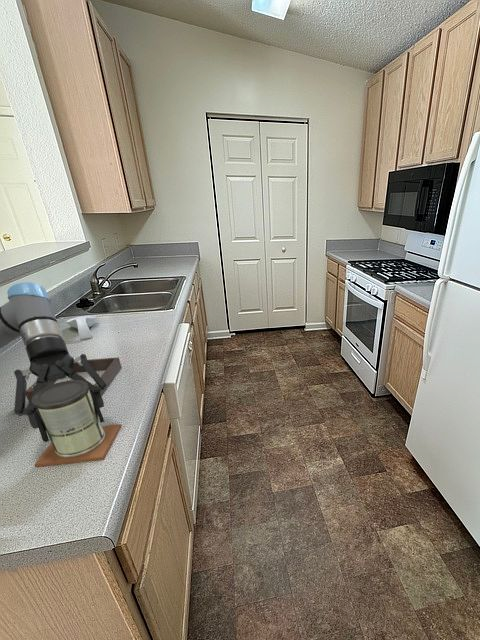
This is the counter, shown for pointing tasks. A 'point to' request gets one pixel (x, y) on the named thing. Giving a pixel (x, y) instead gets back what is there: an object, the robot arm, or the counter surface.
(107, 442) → the cork mat
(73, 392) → the coffee can
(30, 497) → the counter surface
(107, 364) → the rectangular frame
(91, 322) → the spoon rest
